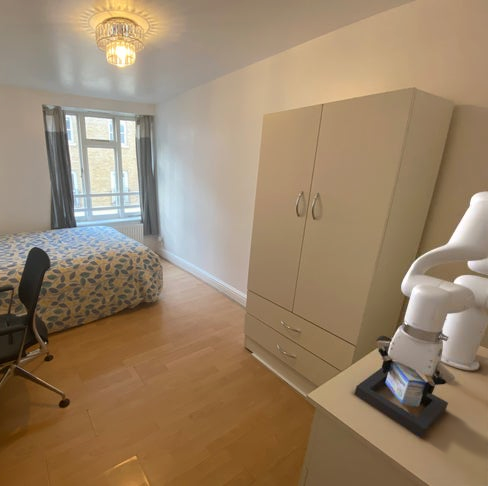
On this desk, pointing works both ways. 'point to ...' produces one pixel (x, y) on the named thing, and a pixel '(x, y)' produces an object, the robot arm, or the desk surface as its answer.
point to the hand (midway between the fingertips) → (405, 381)
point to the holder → (396, 413)
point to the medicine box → (405, 384)
